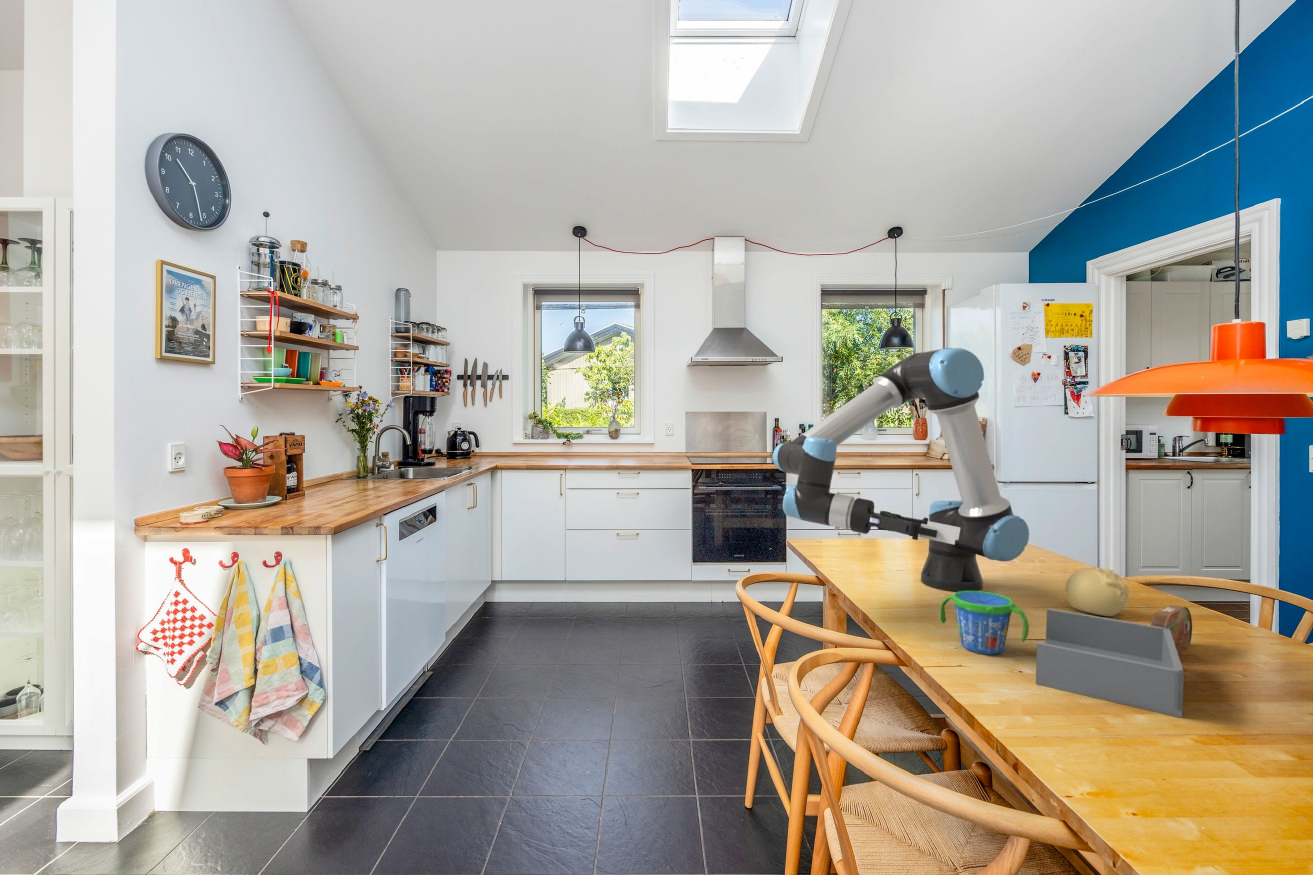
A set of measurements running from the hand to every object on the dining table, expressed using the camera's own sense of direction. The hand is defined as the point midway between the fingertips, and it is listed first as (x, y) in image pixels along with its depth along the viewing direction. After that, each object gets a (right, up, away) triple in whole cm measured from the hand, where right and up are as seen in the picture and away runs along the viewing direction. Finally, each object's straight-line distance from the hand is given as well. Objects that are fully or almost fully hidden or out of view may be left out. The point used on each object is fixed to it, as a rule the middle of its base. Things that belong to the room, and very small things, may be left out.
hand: (957, 535), depth 124 cm
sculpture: (+42, -21, +18) cm, 50 cm away
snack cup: (+2, -22, -5) cm, 22 cm away
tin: (+39, -22, -5) cm, 46 cm away
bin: (+18, -22, -17) cm, 33 cm away
